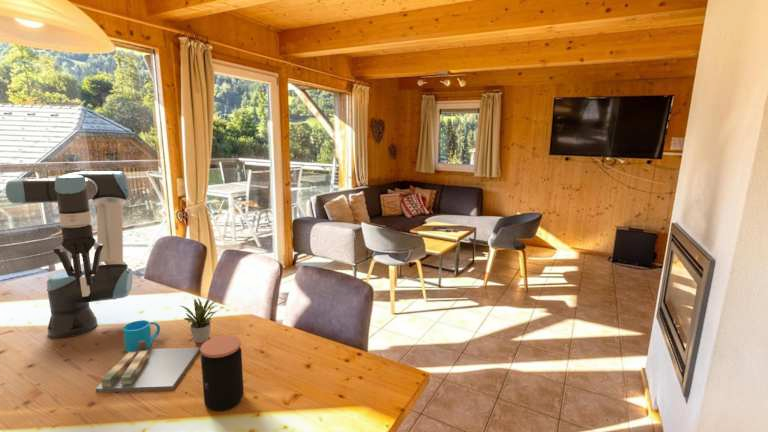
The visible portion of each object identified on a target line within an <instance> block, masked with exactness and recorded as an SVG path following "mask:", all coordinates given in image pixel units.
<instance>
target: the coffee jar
mask: <svg viewBox="0 0 768 432" xmlns="http://www.w3.org/2000/svg"><path fill="white" fill-rule="evenodd" d="M241 342H242V341H241V339H240V338H239V337H237V336H234V335H227V334H226V335H219V336H215V337H212V338H209V339H208V340H207V341H205V342H202V343H201V347H199V348H200V354H201V355H200V363H201V364H200V365H201V366H200V367H201V374H202V375H201V377H202V379H201V380H202V390H203V400H204V401H203V402H204V406H206V407H207V408H208V409H209V410H210V411H213V412H225V411H229V410H232V409H233V408H234V407H236V406H237V405H238V404H240V402H241V400H242V399H243V397H244V378H243V377H244V376H243V375H244V374H243V372H244V371H243V355H242V348H241V345H242V343H241Z"/></svg>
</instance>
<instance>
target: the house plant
mask: <svg viewBox="0 0 768 432" xmlns="http://www.w3.org/2000/svg"><path fill="white" fill-rule="evenodd" d="M211 297H212V296H209V297H208V298H207V299H206V300H205V303H204V305H203V302H201V299H200V298H199V297H197V299H196V298H194V299H193V305H194V313H193V312H192V311H191V310H190V309H189V308H188V307H186V306H184V305H180V307H181V308H183V309H184V310H186V312H187V313H185V315H186V316H187V317H185V318H183V320H185V321H187V324H188V323H191V324H190V325H189V328H190V332H191V334H192V338H193V342H194V343H197V344H198V343H200V344H203V343H204V342H206V341H208V340H209V339H210V336H211V335H210V333H211V325H212V322H211V320H212V316H213V315H214V314H217V312H220V310H215V311H212V310H213V308H216V307H217V306H219V304H218V305H217V304H215V303H216V302H219V301H220V299H217V300H214V301H212V302H211V303H210V304H209V302H210V301H211V300H210V299H211ZM197 300H198V302H197ZM214 304H215V305H214ZM212 305H213V306H212ZM211 306H212V307H211ZM208 310H209V311H208ZM210 314H211V315H210ZM208 316H209V317H208Z"/></svg>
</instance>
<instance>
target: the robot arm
mask: <svg viewBox="0 0 768 432" xmlns="http://www.w3.org/2000/svg"><path fill="white" fill-rule="evenodd" d="M5 196H6V199H7V200H8V201H9V202H10V203H12V204H22V205H24V204H41V203H42V204H43V203H44V204H45V203H57V208H58V215H59V220H60V221H59V222H60V225H61V226H62V227H60V229H61V235H62V242H61V245H59V246H56V247H55V248H54V249H53V253H55V254H56V255H57V256H58V257H59V258H58V259H59V261H60V263H61V264H62V267H63V268H64V271H61V272H58V273H55V274H53V275H51V276H50V277H49V278H48V279H47V280H46V288H47V289H46V292H47V296H48V301H49V302H48V303H49V309H50V318H49V321H48V327H47V334H48V336H49V337H50V338H53V339H63V338H71V337H75V336H79V335H82V334H84V333H87V332H89V331H91V330H93V329H94V328H95V327H96V326H97V325H98V319H97V316H96V315H95V314H94V312H93V310H92V308H91V307H90V303H94V302H101V301H110V300H118V299H123V298H126V297H128V295H130V292H131V289H132V286H133V269H132V268H129V267H128V266H129V265H128V263H126V262H125V261H124V245H123V244H124V243H123V242H124V238H123V235H124V234H123V230H124V228H123V206H125V204H127V199H130V198H131V197H132V192H131V187H130V182H129V178H128V176H127V174H126V173H125V172H124V171H114V170H107V171H104V170H103V171H75V172H70V173H65V174H63V173H62V174H58V175H55V176H53V177H48V178H35V179H12V180H9V181H8V182H7V183H6V185H5ZM89 200H92V203H93V204H94V205H95V206H96V209H97V210H96V215H97V216H96V221H97V223H96V227H97V228H96V231H97V232H96V235H97V236H96V237H97V239H95V238H94V234H93V233H94V232H93V225H92V224H91V223H92V217H91V213H90V211H91V210H90V204H89ZM93 247H94V250H95V251H94V256H93V262H92V267H91V260H90V259H91V258H90V251H91V250H92V248H93ZM66 250H67V252H69V253H70V254H71V255H70V256H71V259H72V263H71V261H70V258H69V257H68V254H67V253H66ZM80 254H81V257H82V264H83V268H82V266H81V265H82V264H81V258H80ZM72 264H73V265H72Z"/></svg>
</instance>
